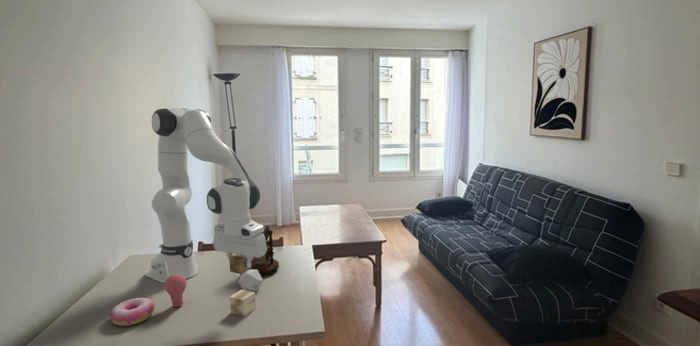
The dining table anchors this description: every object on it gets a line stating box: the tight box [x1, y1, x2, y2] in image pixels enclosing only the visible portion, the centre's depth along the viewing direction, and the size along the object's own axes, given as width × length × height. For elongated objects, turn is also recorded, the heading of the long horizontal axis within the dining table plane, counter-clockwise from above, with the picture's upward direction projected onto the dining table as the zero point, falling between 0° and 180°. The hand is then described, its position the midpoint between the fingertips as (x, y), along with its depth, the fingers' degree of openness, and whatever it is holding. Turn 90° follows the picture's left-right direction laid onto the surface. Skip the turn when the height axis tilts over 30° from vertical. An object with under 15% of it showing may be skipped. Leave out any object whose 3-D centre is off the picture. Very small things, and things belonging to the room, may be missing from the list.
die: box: [238, 270, 263, 292], centre depth 156 cm, size 8×9×10 cm
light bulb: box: [164, 274, 187, 308], centre depth 144 cm, size 7×7×12 cm
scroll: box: [250, 225, 280, 276], centre depth 174 cm, size 15×15×20 cm
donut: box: [110, 297, 155, 327], centre depth 137 cm, size 14×13×5 cm
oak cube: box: [229, 288, 257, 317], centre depth 140 cm, size 6×6×6 cm
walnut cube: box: [228, 254, 251, 275], centre depth 138 cm, size 5×5×5 cm
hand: (240, 265), depth 138 cm, fingers closed on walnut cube, 5 cm apart
